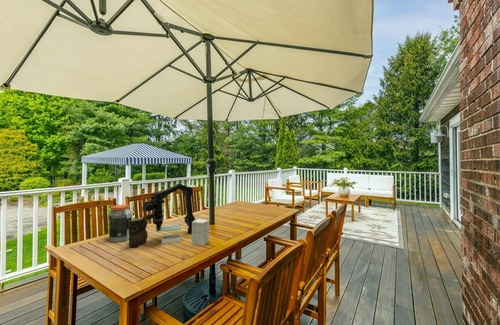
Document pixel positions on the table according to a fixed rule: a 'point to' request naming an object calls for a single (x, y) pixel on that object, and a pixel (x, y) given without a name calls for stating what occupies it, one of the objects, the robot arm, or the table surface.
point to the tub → (171, 238)
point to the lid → (169, 228)
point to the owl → (137, 232)
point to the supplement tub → (119, 223)
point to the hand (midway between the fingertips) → (158, 230)
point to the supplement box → (200, 232)
